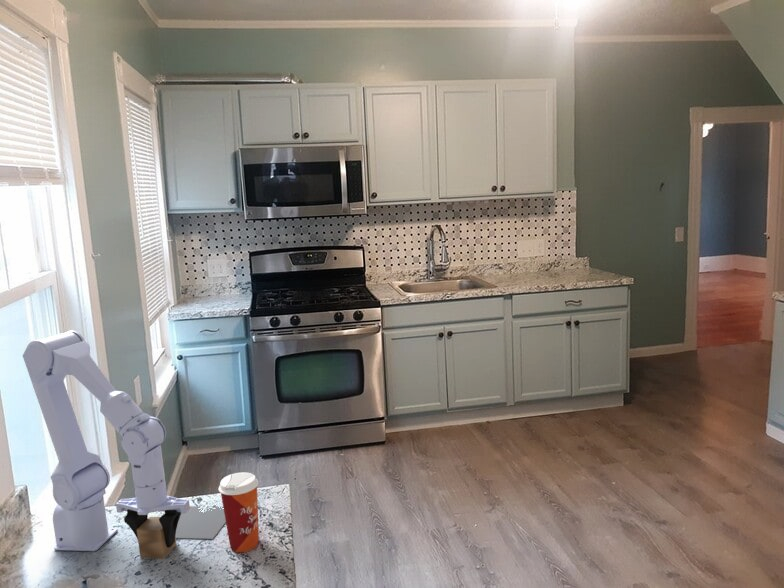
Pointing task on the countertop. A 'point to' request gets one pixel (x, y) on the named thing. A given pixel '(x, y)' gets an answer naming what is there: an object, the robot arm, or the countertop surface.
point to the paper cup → (241, 510)
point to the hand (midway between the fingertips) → (157, 544)
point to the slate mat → (200, 523)
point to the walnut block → (152, 539)
